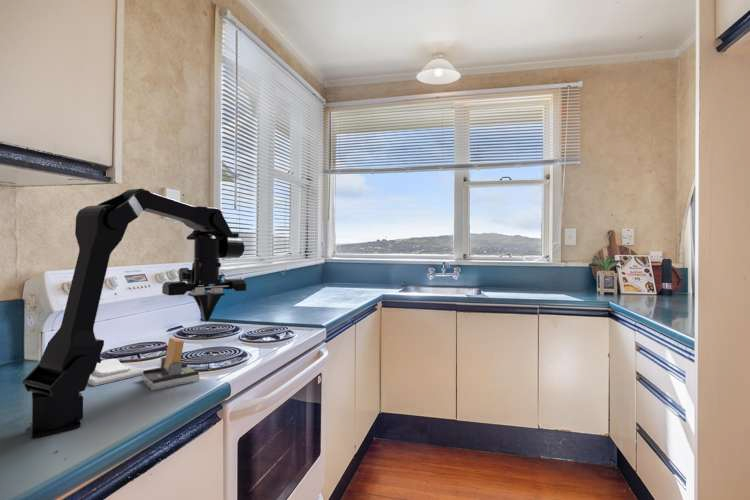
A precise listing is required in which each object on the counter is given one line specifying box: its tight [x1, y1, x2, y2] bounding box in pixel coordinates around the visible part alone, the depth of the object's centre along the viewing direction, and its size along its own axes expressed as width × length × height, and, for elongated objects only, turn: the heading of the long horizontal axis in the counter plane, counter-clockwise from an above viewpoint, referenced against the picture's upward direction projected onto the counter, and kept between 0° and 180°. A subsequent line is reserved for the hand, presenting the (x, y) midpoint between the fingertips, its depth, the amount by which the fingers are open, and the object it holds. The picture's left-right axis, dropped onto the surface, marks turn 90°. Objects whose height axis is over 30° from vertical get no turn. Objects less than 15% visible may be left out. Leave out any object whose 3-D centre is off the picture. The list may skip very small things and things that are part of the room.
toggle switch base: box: [141, 356, 200, 391], centre depth 93 cm, size 10×9×5 cm
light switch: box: [87, 358, 145, 387], centre depth 97 cm, size 11×4×13 cm
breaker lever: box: [164, 337, 185, 372], centre depth 93 cm, size 2×5×8 cm, turn 43°
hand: (206, 321), depth 99 cm, fingers closed
